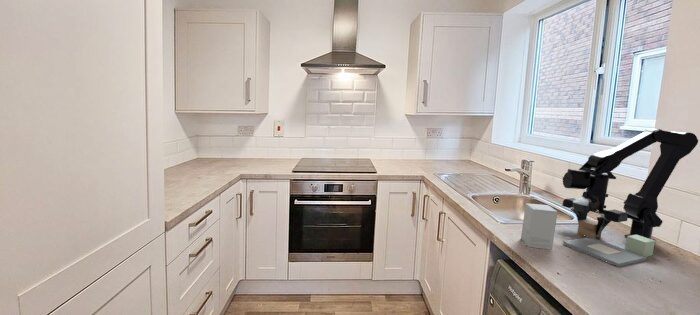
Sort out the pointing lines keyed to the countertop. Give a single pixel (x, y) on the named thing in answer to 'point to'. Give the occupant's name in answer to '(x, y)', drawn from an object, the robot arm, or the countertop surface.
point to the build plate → (605, 251)
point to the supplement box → (539, 226)
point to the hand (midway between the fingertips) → (589, 232)
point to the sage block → (640, 245)
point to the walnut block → (588, 228)
